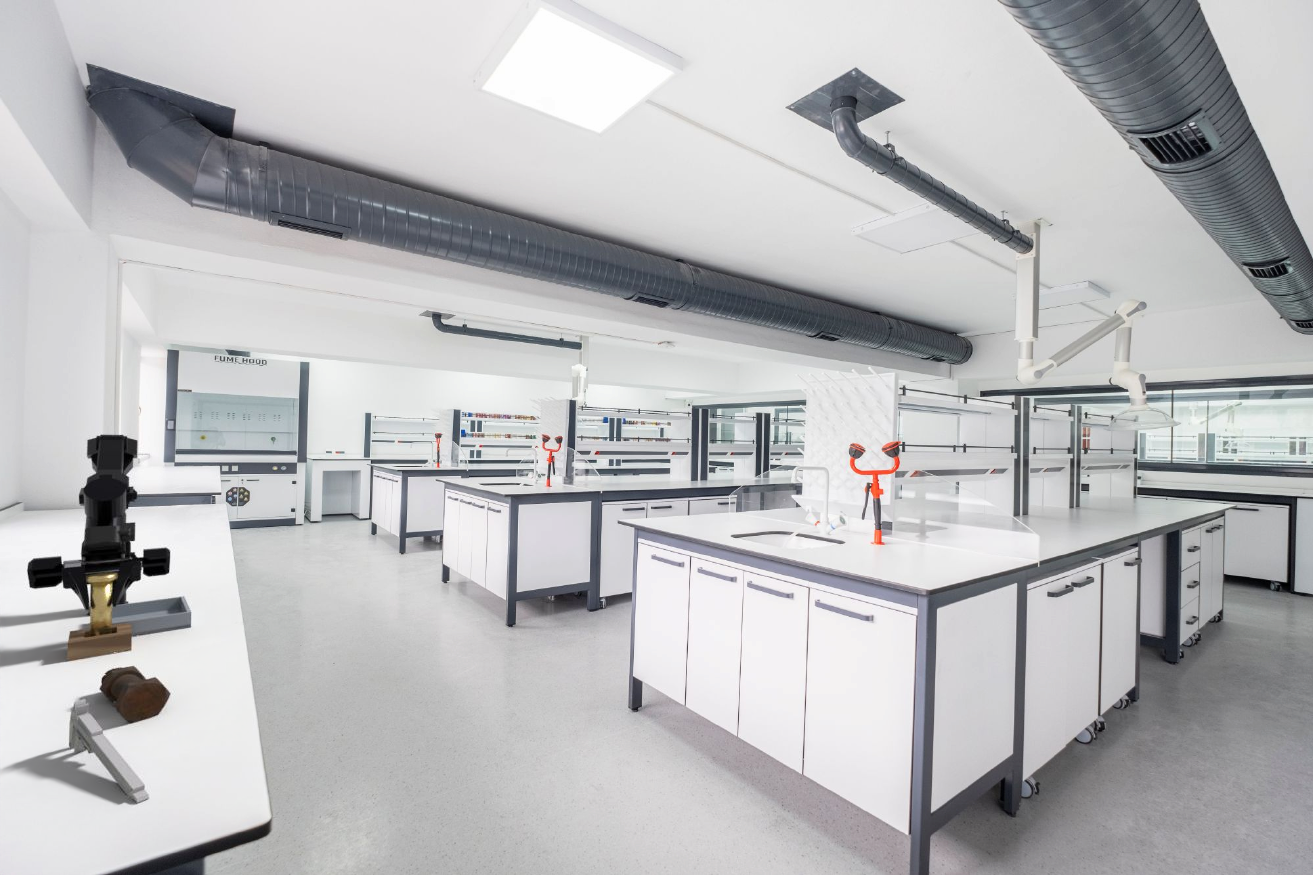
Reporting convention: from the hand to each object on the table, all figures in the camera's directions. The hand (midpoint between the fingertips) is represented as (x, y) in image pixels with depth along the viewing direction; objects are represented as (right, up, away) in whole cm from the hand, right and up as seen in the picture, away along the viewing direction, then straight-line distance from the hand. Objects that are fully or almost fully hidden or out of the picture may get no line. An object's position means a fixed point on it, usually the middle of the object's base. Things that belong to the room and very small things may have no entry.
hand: (100, 607), depth 103 cm
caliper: (+35, -9, -36) cm, 51 cm away
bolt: (+22, -9, -19) cm, 31 cm away
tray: (-5, -8, +15) cm, 17 cm away
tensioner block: (-1, -8, +1) cm, 8 cm away
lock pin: (-1, -7, +1) cm, 7 cm away
